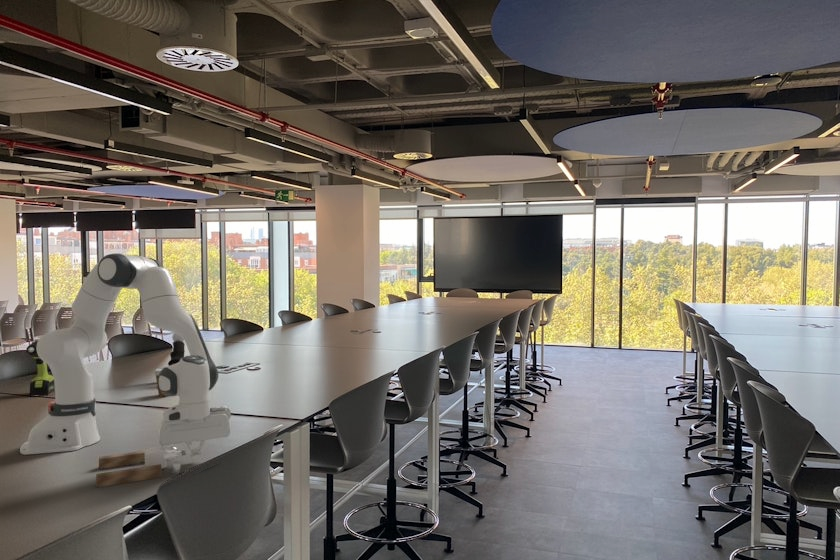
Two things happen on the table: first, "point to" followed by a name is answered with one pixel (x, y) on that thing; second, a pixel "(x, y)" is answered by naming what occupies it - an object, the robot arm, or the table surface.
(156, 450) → the power adapter
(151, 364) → the table surface
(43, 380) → the cordless drill
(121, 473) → the walnut slot
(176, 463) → the steel pins
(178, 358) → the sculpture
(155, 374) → the disposable coffee cup
